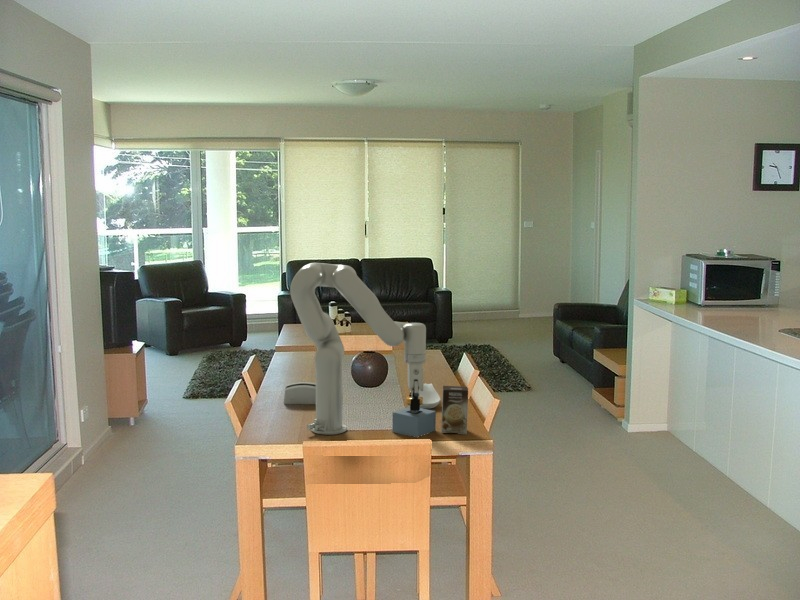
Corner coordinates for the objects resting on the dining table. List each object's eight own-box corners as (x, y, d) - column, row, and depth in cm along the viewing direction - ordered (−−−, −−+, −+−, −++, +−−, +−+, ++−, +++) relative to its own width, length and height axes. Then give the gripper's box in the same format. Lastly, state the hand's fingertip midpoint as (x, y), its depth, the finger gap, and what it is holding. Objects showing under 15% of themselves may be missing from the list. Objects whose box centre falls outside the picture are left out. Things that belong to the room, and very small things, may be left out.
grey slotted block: (325, 400, 318) (325, 380, 314) (324, 407, 314) (324, 386, 309) (284, 400, 318) (283, 380, 313) (283, 407, 313) (282, 386, 309)
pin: (421, 425, 273) (421, 400, 272) (404, 424, 274) (404, 399, 273) (423, 420, 278) (424, 396, 277) (407, 419, 280) (407, 395, 279)
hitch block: (417, 437, 269) (417, 417, 268) (392, 432, 276) (392, 412, 275) (435, 430, 278) (435, 411, 277) (410, 425, 284) (411, 406, 283)
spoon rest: (439, 412, 304) (440, 394, 303) (410, 411, 305) (410, 393, 304) (441, 397, 327) (442, 380, 326) (414, 396, 328) (414, 379, 327)
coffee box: (441, 434, 274) (442, 389, 272) (441, 428, 280) (442, 385, 278) (467, 434, 273) (468, 390, 272) (466, 429, 280) (467, 385, 278)
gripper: (428, 362, 265) (427, 414, 267) (423, 353, 282) (422, 401, 284) (406, 362, 265) (405, 414, 267) (402, 353, 282) (402, 401, 284)
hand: (414, 407), depth 275 cm, fingers closed on pin, 5 cm apart
